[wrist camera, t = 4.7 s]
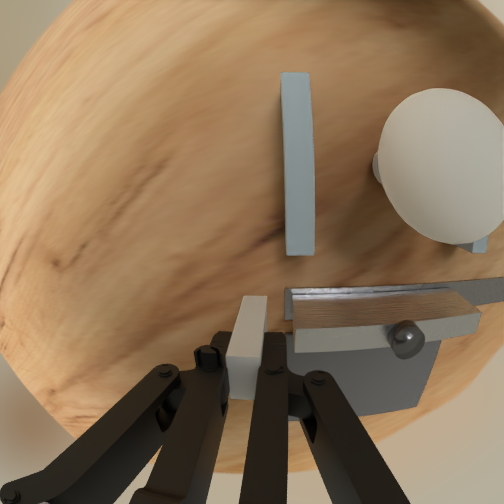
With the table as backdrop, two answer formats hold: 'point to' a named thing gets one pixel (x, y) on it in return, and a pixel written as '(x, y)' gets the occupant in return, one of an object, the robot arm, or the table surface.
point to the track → (468, 289)
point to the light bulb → (443, 165)
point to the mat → (370, 375)
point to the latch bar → (380, 320)
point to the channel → (307, 168)
